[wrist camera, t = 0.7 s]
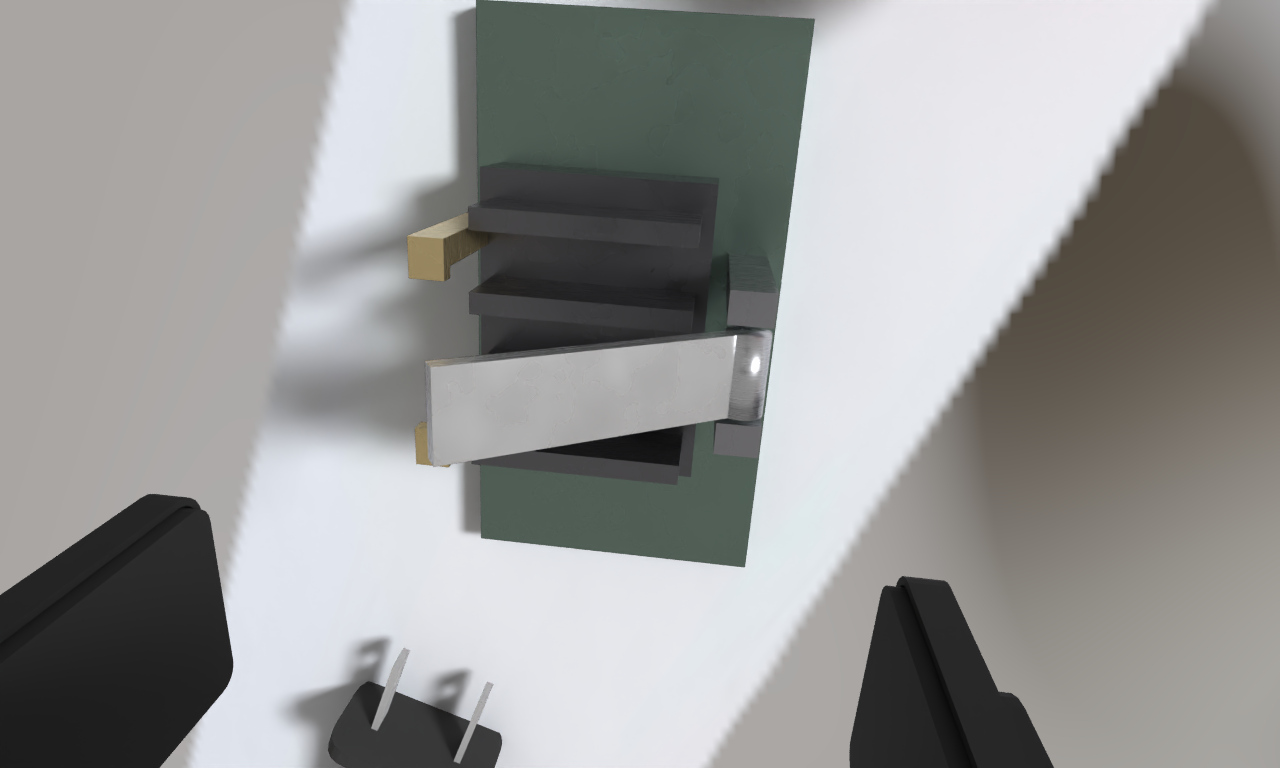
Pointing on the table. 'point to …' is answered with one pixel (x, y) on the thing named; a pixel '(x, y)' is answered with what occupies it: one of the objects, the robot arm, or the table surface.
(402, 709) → the electrical plug
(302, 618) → the table surface
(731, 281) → the circuit board
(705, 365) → the retention strap
